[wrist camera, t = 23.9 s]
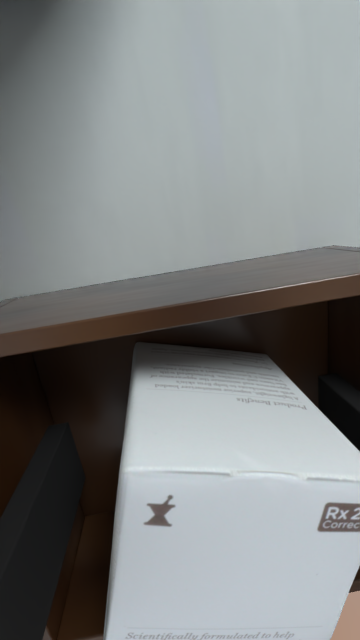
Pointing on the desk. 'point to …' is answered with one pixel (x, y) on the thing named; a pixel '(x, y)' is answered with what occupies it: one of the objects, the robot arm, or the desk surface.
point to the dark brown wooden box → (116, 364)
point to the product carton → (229, 504)
